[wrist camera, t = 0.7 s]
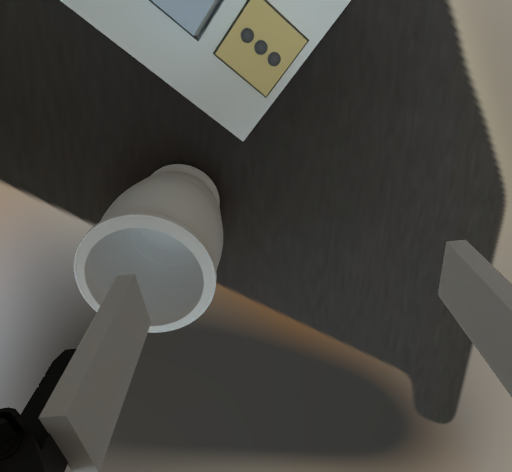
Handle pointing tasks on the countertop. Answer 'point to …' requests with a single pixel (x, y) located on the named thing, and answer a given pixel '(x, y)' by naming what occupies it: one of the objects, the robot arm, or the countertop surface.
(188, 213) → the jar
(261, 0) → the tile three
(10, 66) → the countertop surface
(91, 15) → the button board
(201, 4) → the tile two
